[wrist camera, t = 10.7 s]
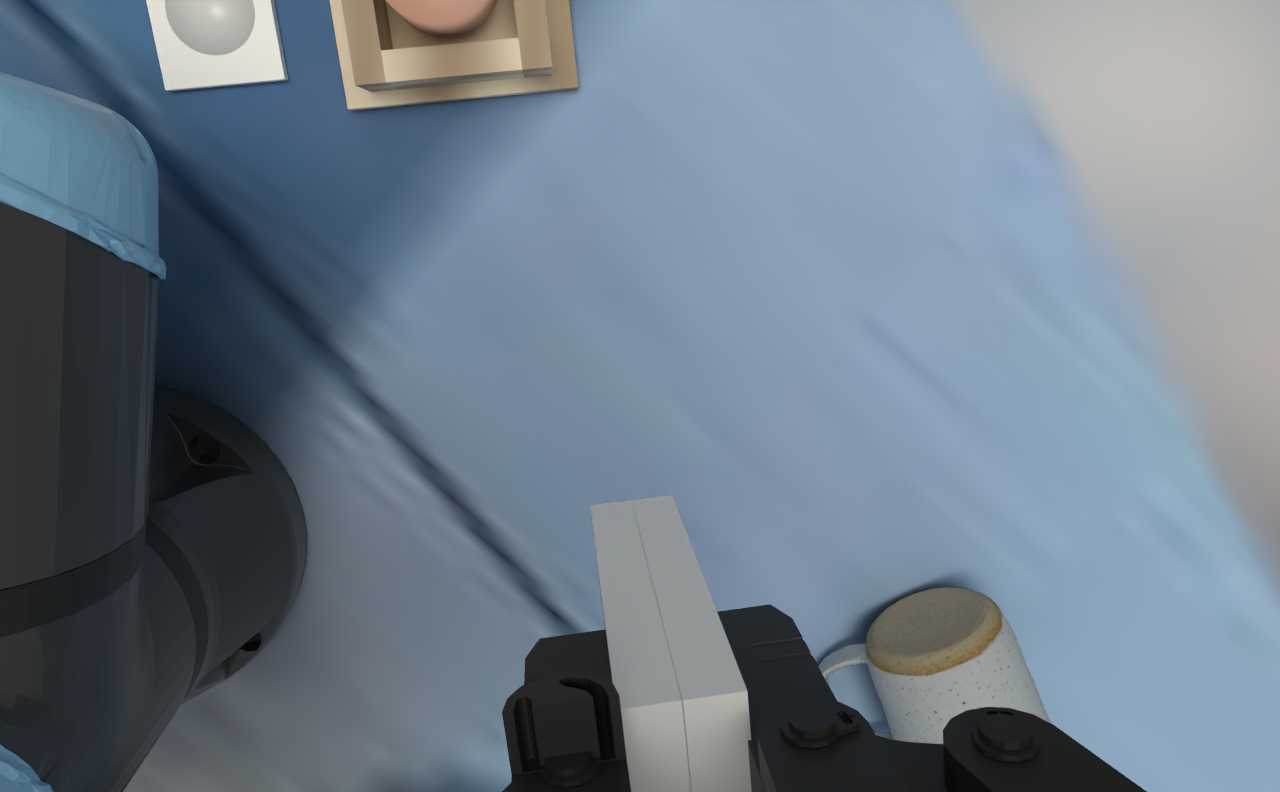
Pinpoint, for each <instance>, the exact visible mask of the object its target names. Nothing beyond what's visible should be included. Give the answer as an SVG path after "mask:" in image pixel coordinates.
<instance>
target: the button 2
mask: <svg viewBox="0 0 1280 792" xmlns="http://www.w3.org/2000/svg"><path fill="white" fill-rule="evenodd" d="M386 1H387V2H388V3H389V4H390V5H391V7H392V8H393V9H394V10H395V11H396V12H397V13H398V14H399V15H400V16H401V17H402V18H403V19H404V20H405V21H406V22H407V23H409V24H410V25H412V26H413V27H414V28H416V29H418V30H420V31H422V32H424V33H427V34H430V35H434V36H439V37H453V36H459V35H462V34H465V33H467V32H469V31H472V30H473V29H475V28H476V27H478V26H479V25H480V24H481V23H483V22H484V21H485V19H486V18H487V17H488V16H489V15H490V13H491V12H492V10H493V8H494V6H495V4H496V2H497V0H386Z"/></svg>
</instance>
